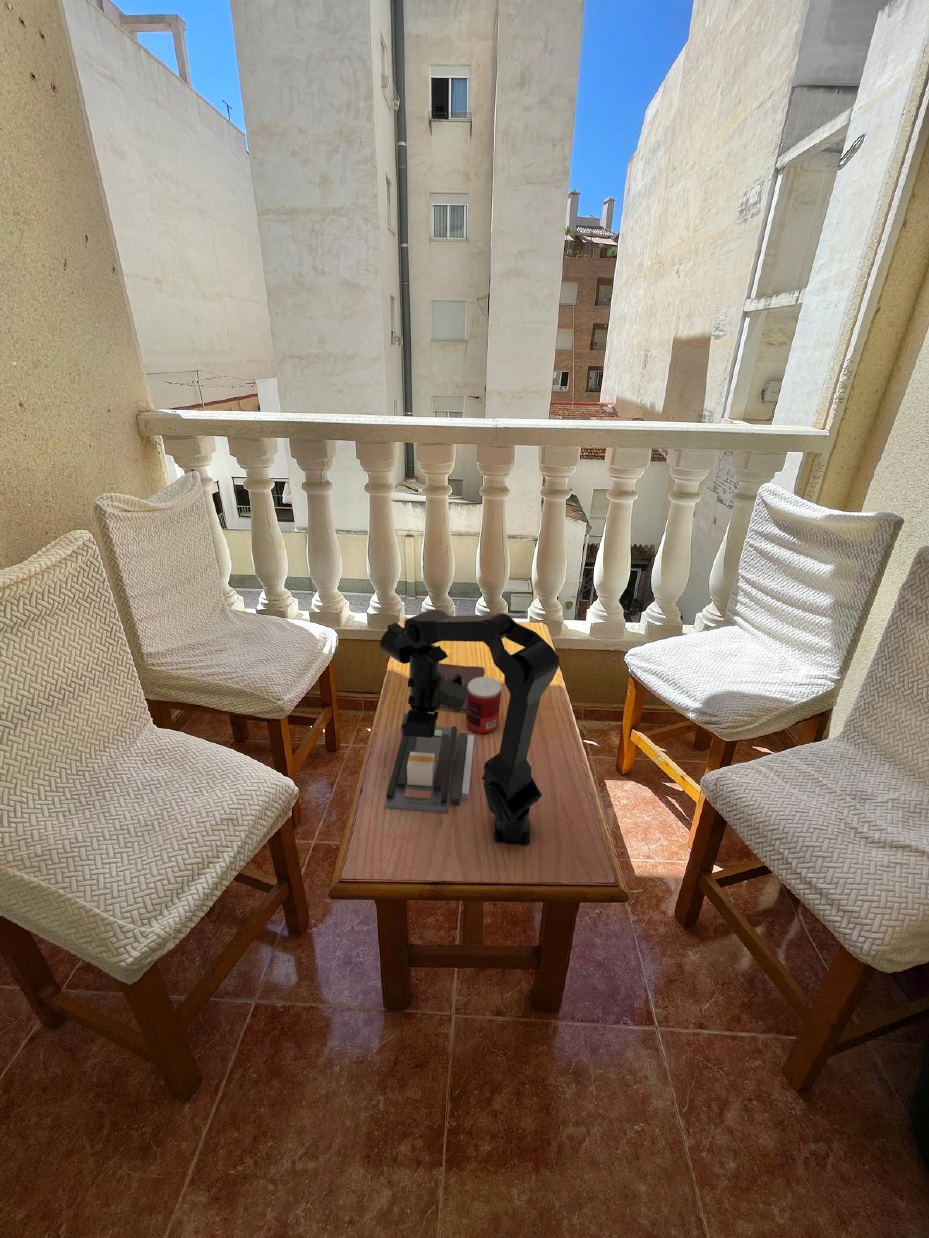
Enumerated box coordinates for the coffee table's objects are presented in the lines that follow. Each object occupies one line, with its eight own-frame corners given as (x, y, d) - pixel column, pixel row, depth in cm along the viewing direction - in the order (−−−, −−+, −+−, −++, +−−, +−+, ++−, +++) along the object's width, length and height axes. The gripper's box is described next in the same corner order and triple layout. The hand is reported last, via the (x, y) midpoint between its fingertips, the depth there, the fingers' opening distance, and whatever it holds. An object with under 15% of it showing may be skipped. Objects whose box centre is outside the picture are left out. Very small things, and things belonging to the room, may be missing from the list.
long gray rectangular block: (467, 806, 108) (468, 799, 107) (450, 805, 108) (450, 798, 107) (473, 740, 126) (474, 733, 125) (459, 739, 126) (459, 732, 125)
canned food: (501, 717, 134) (504, 679, 129) (494, 738, 127) (497, 698, 122) (471, 711, 135) (472, 673, 130) (462, 731, 128) (463, 692, 123)
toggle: (432, 786, 110) (432, 766, 108) (407, 784, 111) (407, 764, 108) (434, 772, 114) (434, 752, 111) (410, 770, 114) (410, 750, 112)
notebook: (413, 708, 136) (413, 702, 136) (431, 667, 154) (431, 660, 153) (473, 716, 134) (474, 709, 134) (484, 673, 152) (484, 667, 151)
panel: (446, 812, 106) (447, 802, 105) (385, 807, 107) (384, 797, 106) (457, 733, 128) (458, 723, 127) (406, 729, 128) (406, 720, 127)
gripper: (461, 703, 98) (459, 770, 106) (469, 650, 115) (466, 711, 122) (400, 699, 99) (401, 765, 106) (416, 647, 116) (416, 707, 123)
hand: (424, 735), depth 114 cm, fingers closed
